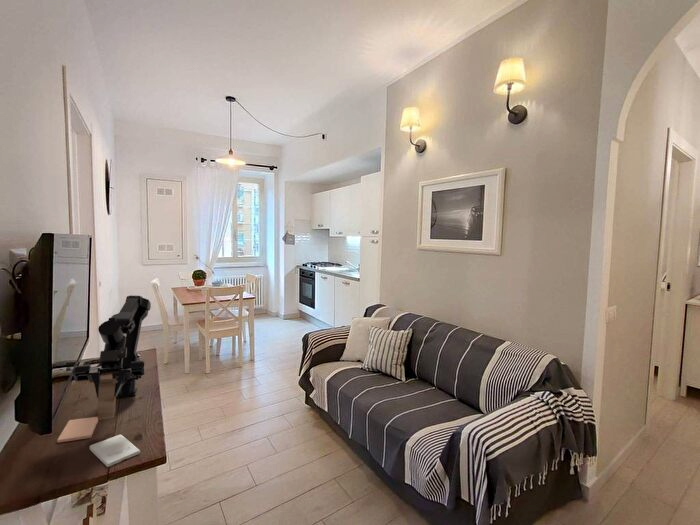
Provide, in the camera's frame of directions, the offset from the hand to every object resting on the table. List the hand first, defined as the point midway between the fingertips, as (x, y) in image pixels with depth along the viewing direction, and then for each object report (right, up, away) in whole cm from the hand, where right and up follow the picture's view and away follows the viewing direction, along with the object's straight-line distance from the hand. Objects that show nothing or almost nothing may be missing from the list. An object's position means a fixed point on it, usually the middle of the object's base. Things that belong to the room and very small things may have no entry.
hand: (106, 396), depth 105 cm
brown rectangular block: (-1, -6, +2) cm, 7 cm away
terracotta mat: (-10, -11, +2) cm, 15 cm away
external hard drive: (+7, -14, -7) cm, 17 cm away
